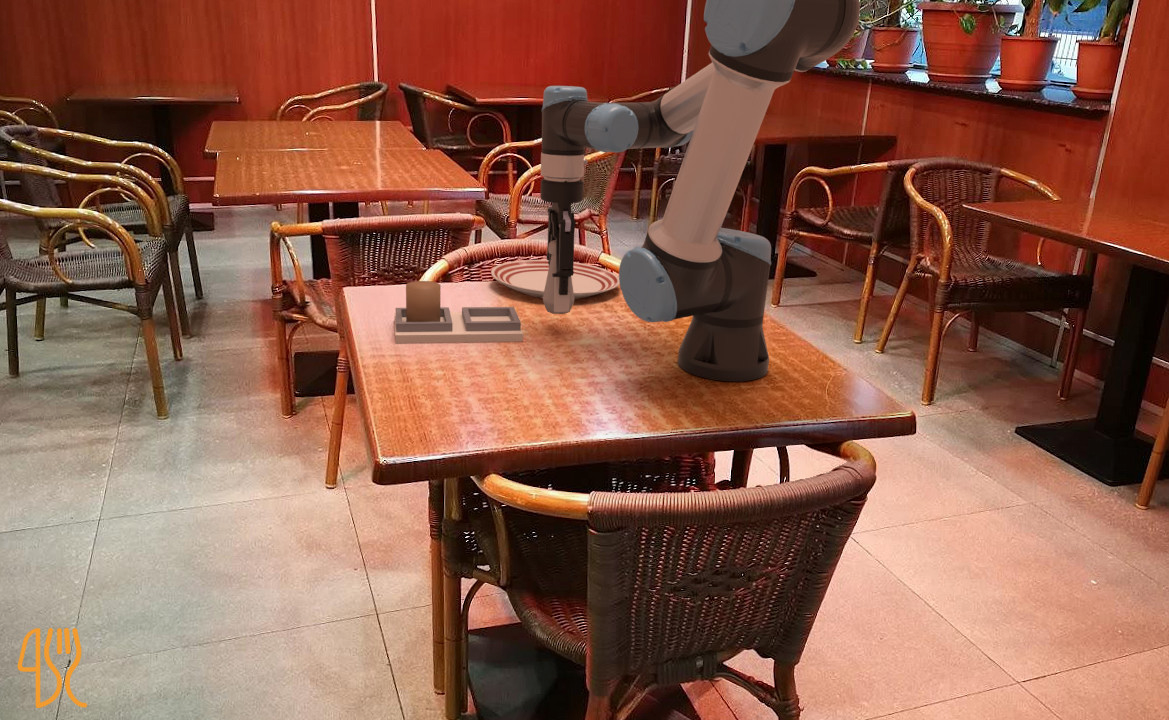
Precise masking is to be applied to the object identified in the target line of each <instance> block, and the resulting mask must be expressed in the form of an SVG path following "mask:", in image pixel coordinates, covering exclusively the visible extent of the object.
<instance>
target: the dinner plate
mask: <svg viewBox="0 0 1169 720" xmlns="http://www.w3.org/2000/svg"><path fill="white" fill-rule="evenodd" d="M548 261H549V260H547V259H526V260H524V259H523V260H516V261H515V260H513V261H509V262H504V263H500V264H497V265H495V266H494V267H493V268H492V269H491V271H490V272H491V273H490V274H491V276H492V278H493V279H494V280H496V281H497V282H498V283H500V284H501V285H503V286H505V287H507V288H509V289H512V290H514V291H517V292H519V293H521V294H523V295H527V296H530V297H534V298H539V297H540V299H543V294H544V290H545V285H546V280H547V275H548V270H549V264H548ZM573 271H574V274H573V276H571V278H572V285H573V292H574V300H578V299H584V298H588V297H591V296H596V295H600V294H602V293H605V292H608V291H611V290H613V289H616V288H617V287H619V286H620V282H619V275H617V274H615V273H614V272H611V271H609V270H608V269H604V268H602V267H599V266H595V265H590V264H586V263H580V262H575V261H574V264H573Z"/></svg>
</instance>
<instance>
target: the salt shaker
mask: <svg viewBox="0 0 1169 720" xmlns="http://www.w3.org/2000/svg"><path fill="white" fill-rule="evenodd" d="M548 251H549V253H550V254H552V256H551V260H550V265H549V270H548V275H547V280H546V285H545V290H544V294H543V298H542V302H543V304H544V308H545V310H546V312H548V313H550V314H553V315H565V314H568V313H570V312H571V310H572V308H573V306H574V303H575V299H574V292H573V285H572V278H571V279H570V307H569V312H554V285H555V277H553V276H552V274H553V273H556V240H553V241H551V242H550V243H549V247H548Z"/></svg>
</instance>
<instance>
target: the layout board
mask: <svg viewBox="0 0 1169 720" xmlns="http://www.w3.org/2000/svg"><path fill="white" fill-rule="evenodd" d="M393 319H394V334H395V335H394V336H395V337H394V339H395V344H398V345H399V344H449V343H453V344H454V343H458V344H459V343H461V344H462V343H515V342H516V343H517V342H518V343H520V342H521V343H523V341H524V333H523V331H522V330H523V329H522V327H521V326H522V322H521V320H520V317H519V315H518V313H517V310H516V309H515V306H471V307H470V306H468V307H467V306H463V307H461V311H460V312H454V311H452V312H451V311H450V307H449V306H448V307H446V306H445V307H441V284H440V283H438V282H435V281H429V280H415V281H409V282H407V283H406V284H405V307H395V312H394V318H393Z"/></svg>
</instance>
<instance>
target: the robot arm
mask: <svg viewBox="0 0 1169 720" xmlns="http://www.w3.org/2000/svg"><path fill="white" fill-rule="evenodd" d="M860 4H861V3H860V0H706V1H705V4H704V5H705V6H704V13H703V21H704V22H705V23H706V26H705V27H704V31H705V34H706V37H707V40H708V42H709V43H710V44H711V45H710V47H709V50H708V56H709V58H710V60H711V63H709V64H707V66H705V67H703V68H702V69H700V70H699V71H697V72H696V73H695V74H693V75H691V76H690V77H688V78H686V79H685V80H684V81H682V82H681V83H680V84H678V85H677V86H675V87H673V88H672V89H671V90H669V91H668V92H666V93H664V94H663V95H661V96H659V98H657V99H655V100H652V101H646V102H640V101H639V102H601V101H600V102H599V101H589V99H588V91H587V89H586V88H585V87H582V86H573V85H569V86H568V85H549V86H547V87H546V88H545V89H544V91H543V100H542V108H541V152H540V175H541V176H542V177H543V178H541V180H540V193H539V195H540V197H539V198H540V199H541V200H542V201H544V202H546V203H550V204H551V206H548V209H547V213H548V216H547V217H548V220H547V221H548V222H547V244H546V246H547V248H546V249H547V251H546V260H549V261H548V264H549V265H550V260H551V256H552V254H550V253H549V251H548V247H549V243H550V242H551V241H553V240H556V273H553V274H552V276H553V277H555V285H554V312H569V307H570V279H571V276H573V274H574V271H573V264H574V262H575V261H574V260H575V259H574V258H575V257H574V254H575V231H576V230H575V229H576V224H577V223H576V220H575V213H574V212H572V204H578V203H581V202H583V200H584V190H585V189H584V188H585V187H584V186H585V185H584V183H585V182H584V181H583V179H581V178H583V177H584V175H585V166H586V165H588V162H589V161H588V159H587V158H585V154H586V148H587V149H591V150H597V151H600V152H603V153H607V154H608V153H622V152H625V151H627V150H633V149H655V148H656V149H658V148H662V149H670V148H674V147H679V146H680V147H681V146H684V145H685V144H687V143H688V142H689V143H688V145H687V148H686V151H685V154H684V156H683V158H682V162H681V165H680V169H679V170H678V174H677V176H676V180H675V182H674V185H673V189H672V190H671V194H670V197H669V199H668V203H667V206H666V208H665V211H664V215H663V216H662V218H661V219H658V220H656V221H654V222H652V223H651V224H650V225H649V226H648V227H649V228H648V230H647V232H646V235H645V238H644V241H643V245H642V246H641V247H640V246H635V247H633V248H631V249H630V250H628V251H627V252H625V253H624V255H623V257H622V258H621V261H620V263H619V268H618V269H619V270H618V277H619V282H620V284H619V286H620V290H621V292H622V297H623V299H624V302H625V303H626V305H627V307H628V309H629V310H630V312H632V313H633V314H634V315H635V317H637V318H639V319H640V320H642V321H644V322H647V323H658V322H659V323H660V322H664V323H669V322H672V321H674V320H677V319H683V318H688V317H692V318H691V322H690V323H689V326H688V328H687V330H686V333H685V335H684V337H683V338H682V339H683V340H682V342H681V343H680V346H679V349H678V357H677V364H678V366H679V367H680V368H681V369H682V370H684V371H686V372H687V373H690V374H691V375H695V376H697V377H701V378H704V379H709V380H712V381H713V380H714V381H721V382H723V381H724V382H747V381H754V380H758V379H760V378H763V377H765V376H766V375H767V373H768V372H769V364H770V363H769V362H770V357H769V356H770V355H769V351H768V346H767V342H766V337H765V332H764V326H763V324H764V316H765V308H766V301H767V295H768V287H769V286H768V285H769V277H770V270H771V266H772V261H771V257H772V256H771V255H772V245H771V242H770V240H768V238H766V237H764V236H762V235H759V234H756V233H752V232H747V231H742V230H739V229H737V230H736V229H732V228H724V227H723V223H724V221H725V218H726V215H727V213H728V211H729V208H730V205H731V203H732V200H733V198H734V195H735V192H736V190H737V187H738V185H739V183H740V180H741V177H742V174H743V171H744V169H745V167H746V164H747V162H748V159H749V157H750V154H751V153H752V149H753V147H754V144H755V141H756V139H757V136H758V134H759V132H760V128H761V125H762V123H763V121H764V118H765V116H766V113H767V111H768V108H769V105H770V103H771V100H772V97H773V94H774V92H775V90H776V89H778V88H779V87H782V86H784V85H786V84H788V83H790V82H791V80H792V77H793V76H794V72H795V71H796V72H800V73H804V72H807V71H809V70H811V69H813V68H815V67H816V66H818V65H820V64H822V63H824V62H825V61H827V60H828V59H830V58H831V57H833V56H835V55H836V54H838V53H839V52H840V51H841V50H843V49H844V48H845V47H846V45H847V44H848V43H849V42H850V41H851V39H852V38H853V36H854V34H855V32H856V30H857V28H858V24H859V20H860V15H861V5H860ZM569 313H570V312H569Z"/></svg>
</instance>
